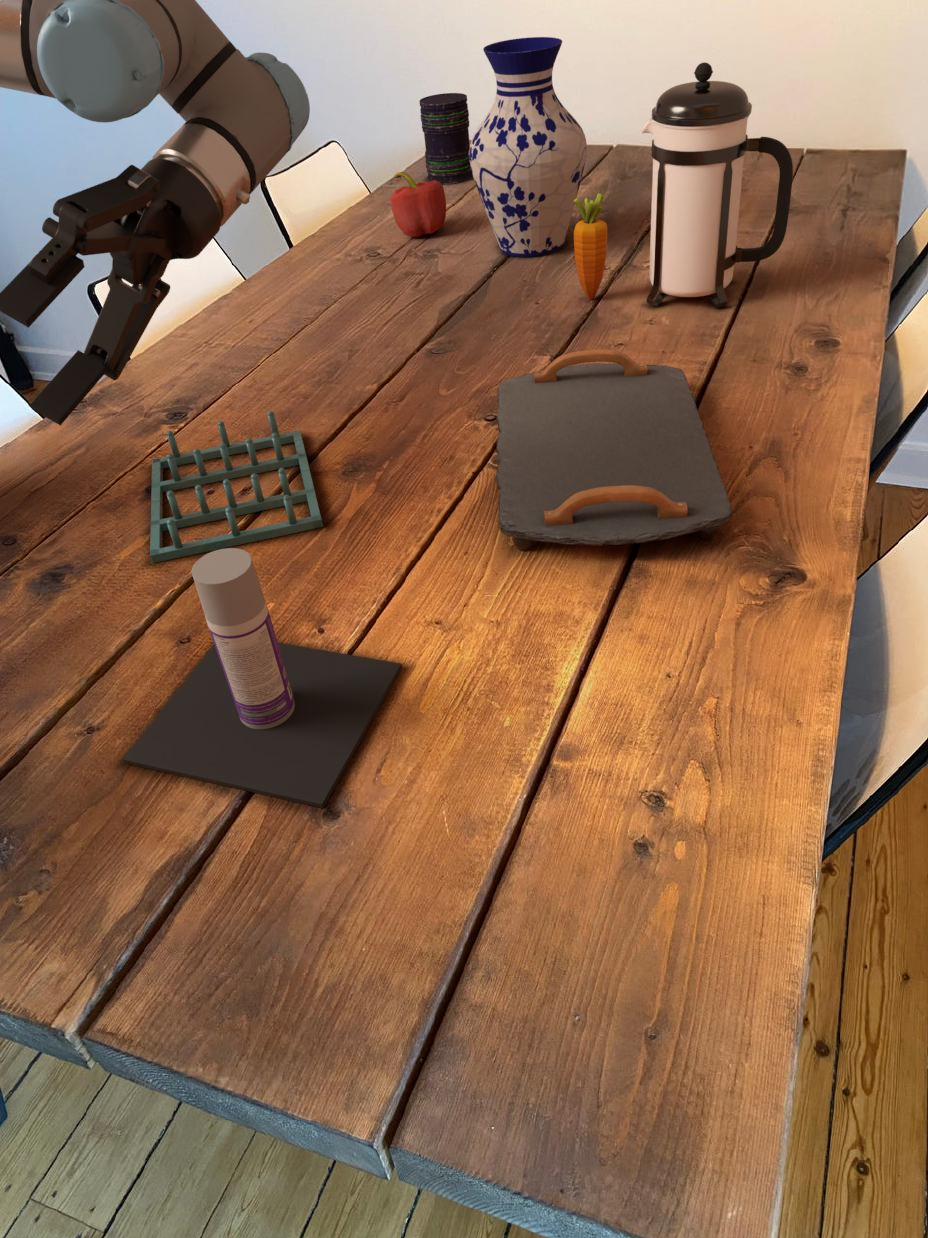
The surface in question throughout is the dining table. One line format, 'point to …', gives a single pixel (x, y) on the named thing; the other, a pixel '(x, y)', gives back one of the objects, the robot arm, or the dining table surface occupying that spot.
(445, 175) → the storage jar
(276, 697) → the container
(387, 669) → the mat
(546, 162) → the vase
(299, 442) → the dish rack
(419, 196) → the vegetable
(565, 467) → the serving tray
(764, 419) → the dining table surface
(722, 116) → the coffee press
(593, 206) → the carrot
